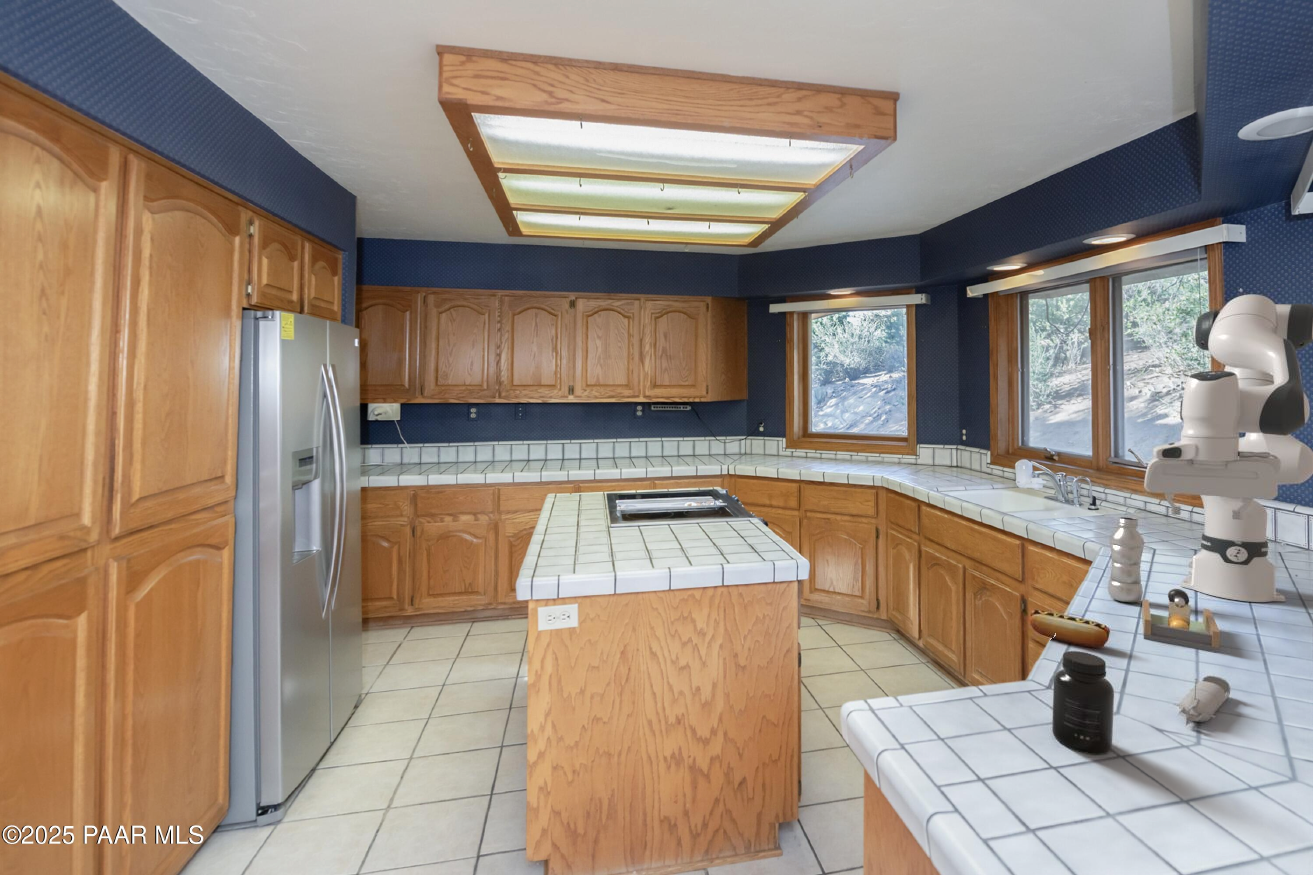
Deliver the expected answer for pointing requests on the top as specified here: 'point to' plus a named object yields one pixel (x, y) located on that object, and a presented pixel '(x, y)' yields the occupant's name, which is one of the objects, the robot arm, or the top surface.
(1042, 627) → the hot dog
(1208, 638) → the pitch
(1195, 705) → the torpedo
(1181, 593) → the glass stem black base
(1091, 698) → the supplement bottle
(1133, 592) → the plastic bottle
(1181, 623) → the ball
